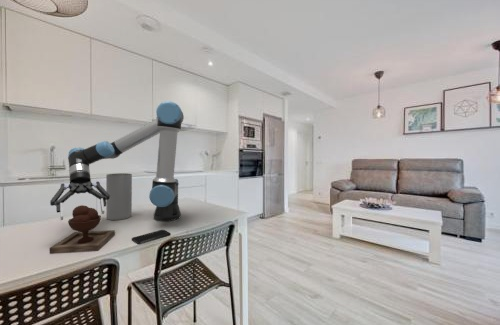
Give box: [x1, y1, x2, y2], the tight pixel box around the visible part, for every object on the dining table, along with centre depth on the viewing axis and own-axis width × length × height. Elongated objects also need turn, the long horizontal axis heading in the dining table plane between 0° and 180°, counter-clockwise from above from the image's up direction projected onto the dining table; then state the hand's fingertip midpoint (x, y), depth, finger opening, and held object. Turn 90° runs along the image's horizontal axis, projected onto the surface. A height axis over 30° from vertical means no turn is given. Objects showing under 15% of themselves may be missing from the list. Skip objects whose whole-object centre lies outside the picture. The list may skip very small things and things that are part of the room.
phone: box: [131, 229, 171, 245], centre depth 97 cm, size 8×1×15 cm
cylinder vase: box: [105, 172, 133, 221], centre depth 123 cm, size 12×12×25 cm
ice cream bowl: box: [67, 204, 102, 244], centre depth 88 cm, size 11×11×15 cm
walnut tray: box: [49, 229, 116, 255], centre depth 89 cm, size 16×16×2 cm
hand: (83, 215), depth 89 cm, fingers open, 13 cm apart
